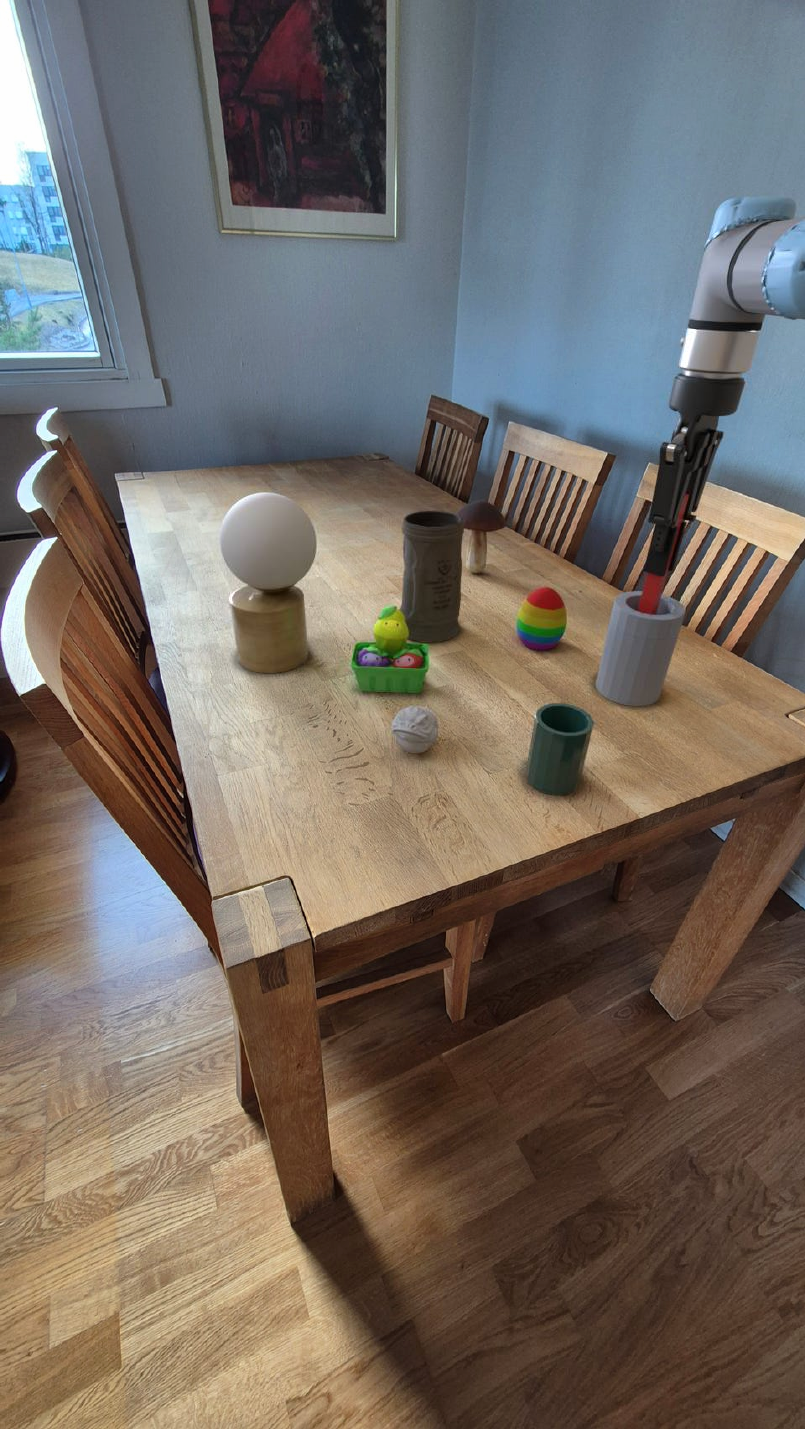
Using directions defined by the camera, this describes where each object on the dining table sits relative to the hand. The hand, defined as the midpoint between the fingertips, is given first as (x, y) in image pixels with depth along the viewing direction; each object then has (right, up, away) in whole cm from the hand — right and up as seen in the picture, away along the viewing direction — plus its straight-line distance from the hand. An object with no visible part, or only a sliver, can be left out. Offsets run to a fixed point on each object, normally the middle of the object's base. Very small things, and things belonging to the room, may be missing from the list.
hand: (658, 570), depth 85 cm
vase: (0, -16, +11) cm, 19 cm away
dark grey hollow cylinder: (-31, -3, +28) cm, 42 cm away
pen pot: (-16, -27, -7) cm, 32 cm away
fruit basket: (-36, -15, +11) cm, 41 cm away
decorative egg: (-11, -7, +23) cm, 26 cm away
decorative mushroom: (-19, +10, +48) cm, 53 cm away
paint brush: (0, -10, +7) cm, 12 cm away
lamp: (-55, -9, +19) cm, 59 cm away
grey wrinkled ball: (-33, -24, -2) cm, 41 cm away
